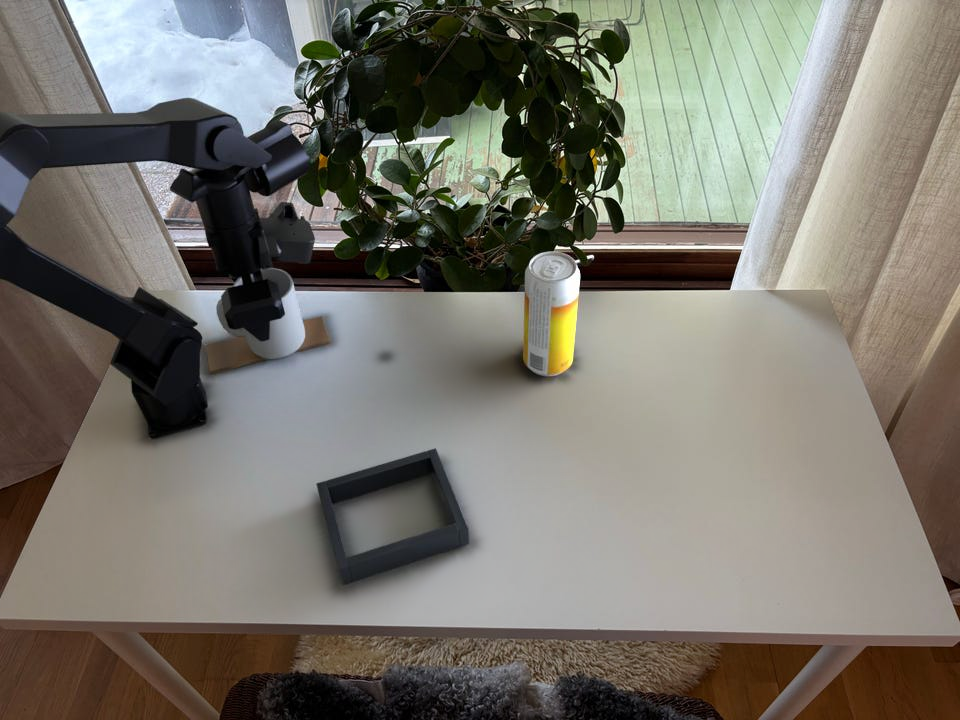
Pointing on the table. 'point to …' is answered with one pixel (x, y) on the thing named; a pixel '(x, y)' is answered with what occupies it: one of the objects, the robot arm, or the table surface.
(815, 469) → the table surface
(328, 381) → the table surface
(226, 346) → the cork mat
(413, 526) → the table surface
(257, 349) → the cup
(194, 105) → the robot arm
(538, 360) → the beer can
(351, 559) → the rectangular frame
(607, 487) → the table surface
